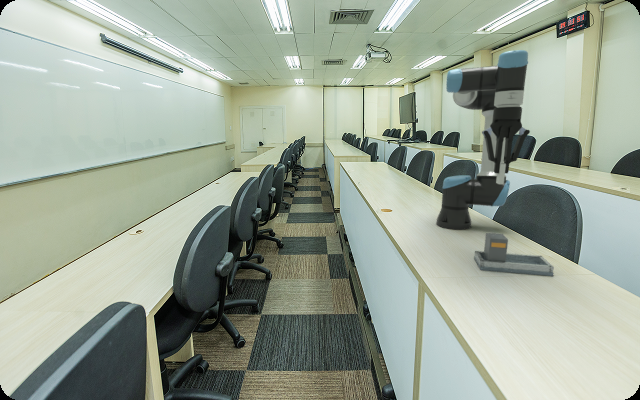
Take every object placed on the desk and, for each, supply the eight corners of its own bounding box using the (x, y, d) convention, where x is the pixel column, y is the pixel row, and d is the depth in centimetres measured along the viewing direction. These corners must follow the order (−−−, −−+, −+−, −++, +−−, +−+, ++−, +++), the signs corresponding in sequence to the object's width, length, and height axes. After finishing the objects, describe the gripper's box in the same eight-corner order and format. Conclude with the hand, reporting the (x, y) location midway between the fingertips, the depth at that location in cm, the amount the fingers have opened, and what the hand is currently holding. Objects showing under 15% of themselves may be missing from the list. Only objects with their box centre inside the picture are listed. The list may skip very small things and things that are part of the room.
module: (483, 258, 108) (485, 232, 106) (499, 259, 106) (502, 233, 104) (487, 265, 102) (490, 238, 100) (505, 266, 100) (508, 239, 99)
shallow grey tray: (473, 258, 110) (474, 250, 110) (539, 263, 105) (540, 255, 105) (480, 270, 101) (481, 261, 100) (553, 276, 96) (554, 267, 95)
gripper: (487, 106, 94) (480, 185, 100) (537, 105, 91) (527, 186, 96) (481, 108, 101) (475, 181, 107) (527, 106, 98) (518, 182, 103)
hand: (499, 183), depth 101 cm, fingers closed
